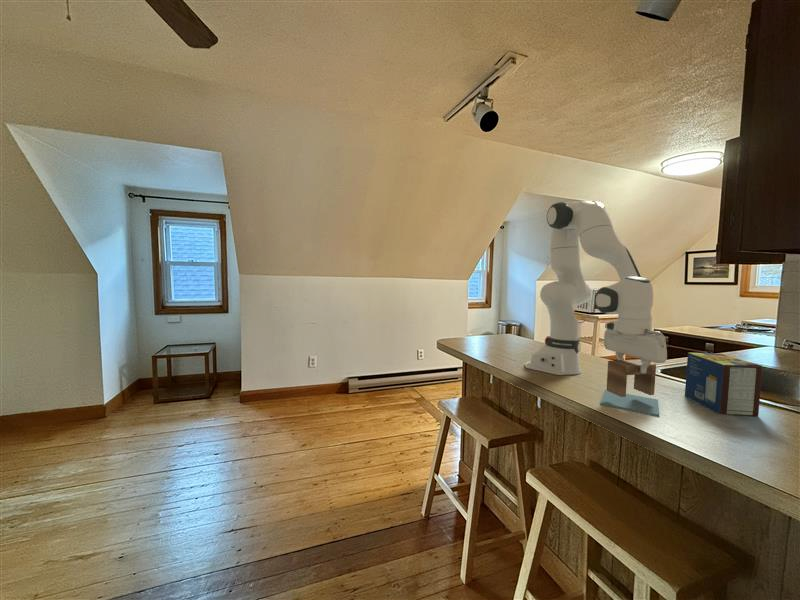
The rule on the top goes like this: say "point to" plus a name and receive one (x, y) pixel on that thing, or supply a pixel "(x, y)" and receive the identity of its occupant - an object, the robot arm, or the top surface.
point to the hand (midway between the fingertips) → (631, 369)
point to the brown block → (630, 367)
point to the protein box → (724, 383)
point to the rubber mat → (631, 403)
